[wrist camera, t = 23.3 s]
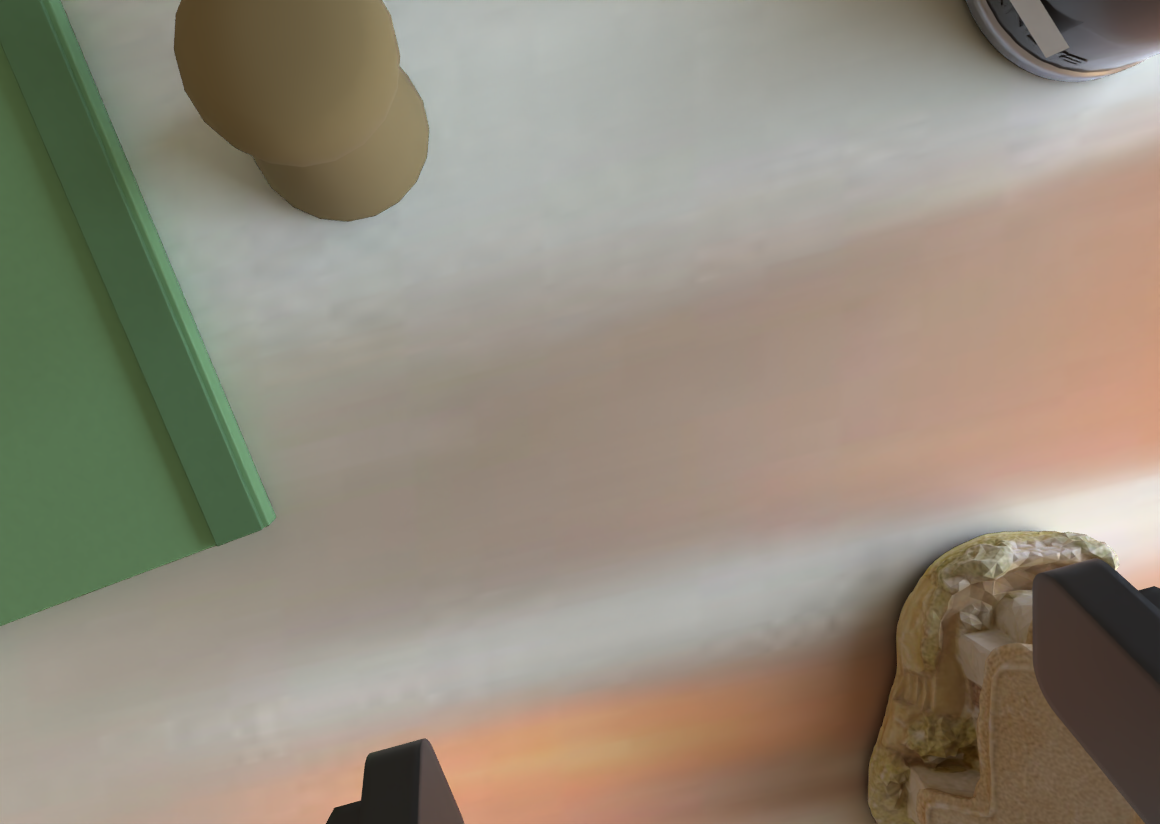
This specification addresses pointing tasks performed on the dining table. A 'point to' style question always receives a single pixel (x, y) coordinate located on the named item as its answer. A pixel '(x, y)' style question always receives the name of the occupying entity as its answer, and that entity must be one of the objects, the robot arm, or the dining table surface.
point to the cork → (308, 97)
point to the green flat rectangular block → (95, 351)
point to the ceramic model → (984, 699)
